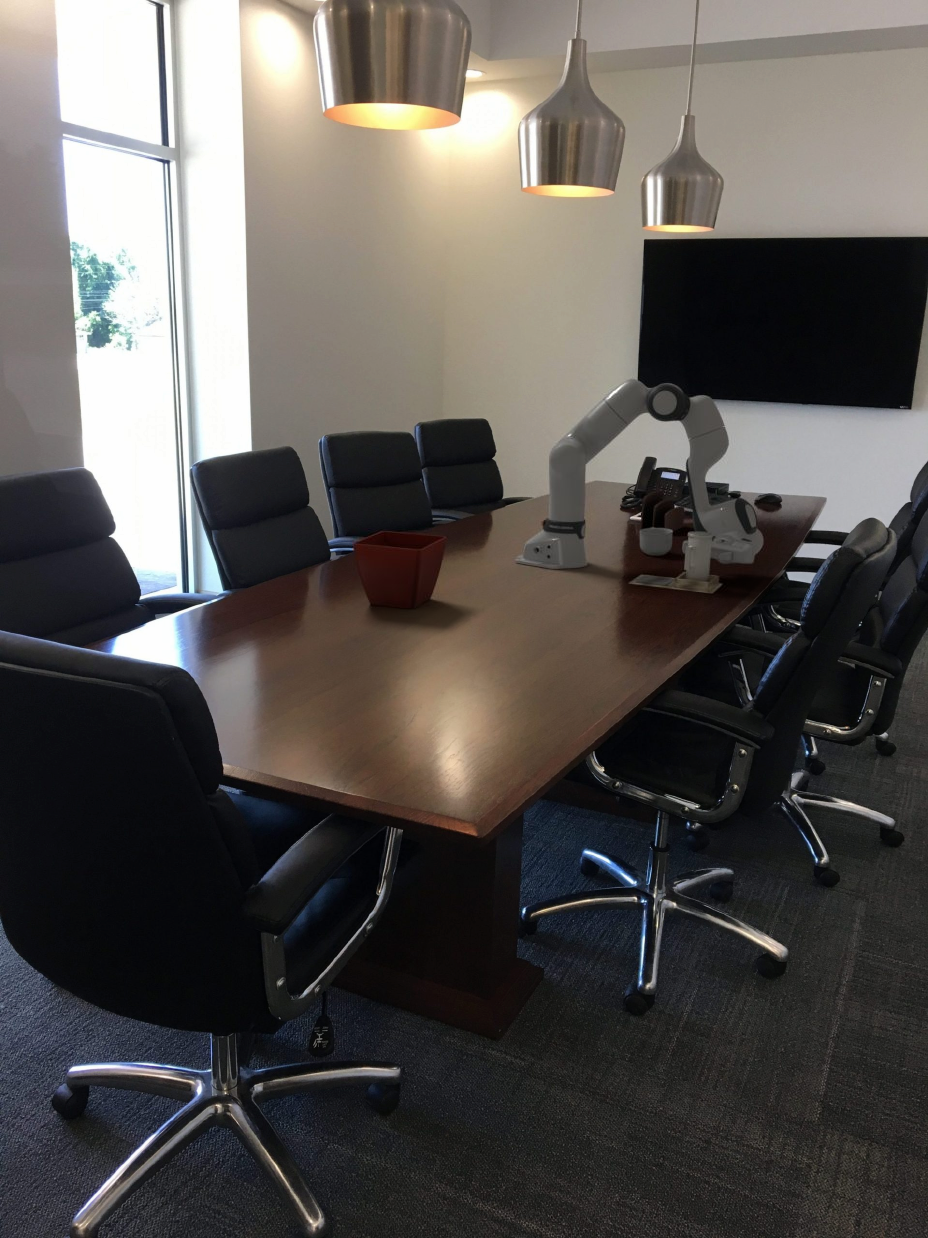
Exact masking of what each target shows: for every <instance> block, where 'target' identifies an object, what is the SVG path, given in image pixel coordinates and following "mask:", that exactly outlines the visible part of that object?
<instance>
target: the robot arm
mask: <svg viewBox="0 0 928 1238" xmlns="http://www.w3.org/2000/svg"><path fill="white" fill-rule="evenodd" d="M644 414H649V415H650V416H651V417H652V418H653V419H654V420H656V421H660V422H664V423H665V422H679V423H681V425H682V426H683V428H684V430H685V434H686V437H687V439H688V443H689V456H688V458H687V459H686V462H685V473H686V478H687V480H686V481H687V485H688V490H689V491H688V492H689V497H690V503H691V509H692V526H693V530H694V532H695V531H699V532H709V533H712V534H713V538H712V544H711V557H710V559H715V560H716V561H718V562H719V563H721V564H724V565H725V564H727V565H728V564H743V565H745V564H746V565H748V564H749V565H750V564H753V563H754V561H755V556H756V555H757V554H758V553H759V552H760V550H761V549H762V547H763V546H764V536H763V533H762V532H761V531H760V530H759V529H758V517H757V513H756V510H755V508H754V506H753V505H752V504H751V503H750V502H749V501H747V500H746V499H745V498H742V497H738V498H735V499H730V500H726V501H723V502H720V503H717V504H714V505H711V504H710V500H709V495H708V490H707V484H706V476H707V475H708V472H709V470H710V469H712V467H713V466H714V465H716V464H717V463H718V462H720V460H721V459H722V458H723V457H724V455H725V454H726V453H727V451H728V448H729V446H730V445H729V444H730V441H729V436H728V431H727V429H726V426H725V421H724V420H723V418H722V415H721V413H720V410H719V409H718V406H717V405H716V403H715V401H714V400H713V398H712V397H710V396H708V395H704V394H702V395H695V396H692V397H689V396H688V395H686V393H684V392H683V390H682V389H681V388H680V387H679V386H678V385H676V384H673V383H670V382H666V383H660V384H658V385H657V386H654V387H647V386H646V385H645V384H644V383H643V382H641V381H640V380H637V379H635V378H634V379H633V378H629V379H626V380H625V381H623V382H622V383H620V384H619V385H618V386H616V387H615V388H613V389H612V390H611V391H610V392H608V393H607V395H606V396H604V397H603V398H602V399H601V400H600V401H599V402H598V403H597V404H596V405H595V406H594V407H593V408H592V409H591V410H590V411H589V412H588V413H587V414H586V415H584V416H583V417H582V419H580V421H578V423H576V425H574V426H573V427H572V428H571V429H570V430H569V431H568V432H567V433H566V434H565V435H564V436H563V437H562V438H560V440H559V441H558V442H557V443H556V444H555V445H553V447H552V448H551V450H550V452H549V456H548V485H549V489H548V490H549V496H548V499H549V500H548V505H549V506H548V517H546V519H543V521H541V522H540V526H541V527H542V529H541V531H539V532H538V533H536V534H535V535H534V536H532V537H531V538H529V539H528V540H527V541H526V542H525V544H524V547H523V552H522V554H519V555H518V556H517V557H516V558H515V563H517V564H522V565H528V566H532V567H534V566H535V567H540V568H544V569H550V570H560V569H562V570H563V569H576V568H578V569H579V568H582V567H586V566H588V561H587V556H586V549H585V537H586V532H587V531H586V530H587V529H586V519H585V512H586V511H585V508H586V469H587V468H586V467H587V464H589V463H590V461H591V460H593V459H594V458H595V457H596V456H597V455H599V454H600V452H601V451H602V450H604V449H605V448H607V446H609V444H611V443H612V442H613V441H614V440H615V439H616V438H617V437H618V436H619V435H620V434H621V433H622V432H623V431H624V430H625V429H627V427H628V426H629V425H631V423H633V421H635V420H636V419H637V418H639V416H641V415H644ZM687 546H688V539H687V540H684V541H682V549H681V551H682V552H683V554H685V551H686V547H687Z"/></svg>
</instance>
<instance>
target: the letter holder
mask: <svg viewBox="0 0 928 1238" xmlns="http://www.w3.org/2000/svg"><path fill="white" fill-rule="evenodd" d="M674 503H675V502H674V499H672V498H671V499H669V498H668V499H664V492H663V490H656V491H652V492H649V493H648V494H646V495H645V496H644V497H643V498H642V504H641V515H640V516H641V517H640V527H639V528H640V529H639V531H640V530H643V529H647V528H665V529H670V530H672V531H673V532H675V531H677V530H679V529H680V530H681V529H682V528H684V526H685V525H684V522H685V508H684V506H676V507H674Z"/></svg>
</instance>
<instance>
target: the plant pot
mask: <svg viewBox="0 0 928 1238" xmlns="http://www.w3.org/2000/svg"><path fill="white" fill-rule="evenodd" d="M446 544H447V536H444V535H434V534H433V535H432V534H423V533H413V532H412V533H411V532H399V531H392V530H391V531H390V530H383V531H382V530H381V531H379V532H377V533H375V534H372V535H369V536H367V537H364V538H361V539H360V540H357V541H355V542H353V543H352V547H353V552H354V558H355V559H354V560H355V563H356V567H357V571H358V574H359V578H360V580H361V585H362V587H363V590H364V592H365V595H366V598H367V601H368V602H369V604H370V605H372V606H373V605H374V606H382V607H383V606H384V607H391V608H398V609H399V608H401V609H409V610H410V609H411V610H413V609H417V607H420V606H421V605H423V604H424V603H425V602H427V601H429V600H431V598H432V596H433V594H434V590H435V587H436V585H437V581H438V578H439V576H440V575H439V574H440V571H441V567H442V564H443V559H444V554H445V549H446Z"/></svg>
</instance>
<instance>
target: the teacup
mask: <svg viewBox="0 0 928 1238" xmlns="http://www.w3.org/2000/svg"><path fill="white" fill-rule="evenodd" d="M673 533H674V531H672V530H670V529H665V528H647V529H643V530H640V529H639V548H640V549H641V551H642V552H643V553H644V554H646V555H648V556H664V555H666V554H668V552H669V551H671V550H672V546H673Z"/></svg>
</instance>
